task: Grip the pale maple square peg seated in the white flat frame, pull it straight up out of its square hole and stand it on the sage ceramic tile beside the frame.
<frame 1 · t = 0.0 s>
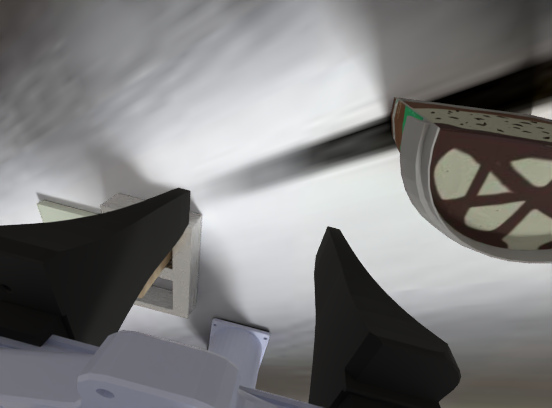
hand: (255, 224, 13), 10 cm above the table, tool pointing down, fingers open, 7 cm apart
white flat frame: (161, 254, 29), on the table
food container: (441, 147, 20), on the table
maple peg: (161, 230, 28), resting in white flat frame
ceramic tile: (85, 240, 30), on the table
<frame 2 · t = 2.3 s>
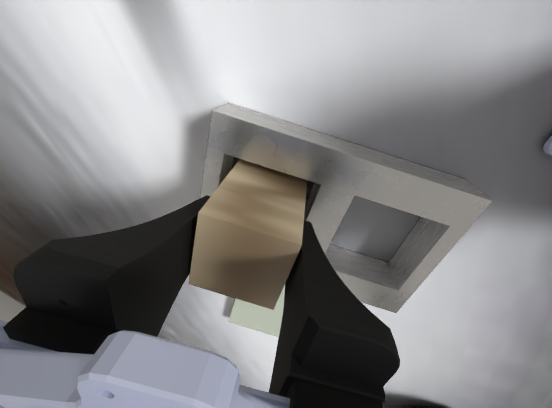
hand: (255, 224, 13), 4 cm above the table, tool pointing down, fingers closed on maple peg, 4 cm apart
white flat frame: (319, 206, 16), on the table
maple peg: (268, 190, 16), resting in white flat frame, touching gripper
ceramic tile: (290, 301, 21), on the table
when the fingers open (6 cm above the table, at t = 7.0 s): maple peg drops 1 cm, resting on ceramic tile.
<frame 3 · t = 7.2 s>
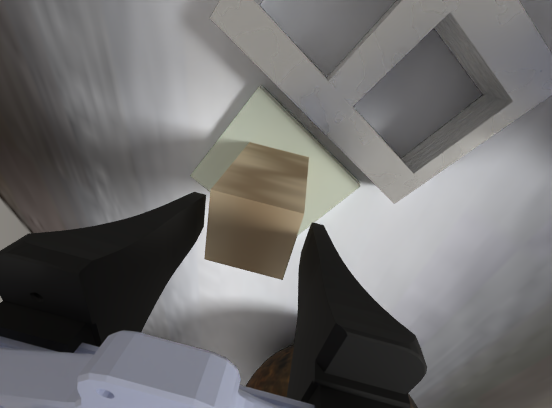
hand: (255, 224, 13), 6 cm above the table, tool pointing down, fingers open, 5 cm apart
white flat frame: (373, 51, 14), on the table
glass bottle: (325, 363, 29), on the table
maple peg: (273, 176, 17), point 1 cm above the table, touching ceramic tile
ceramic tile: (273, 176, 18), on the table
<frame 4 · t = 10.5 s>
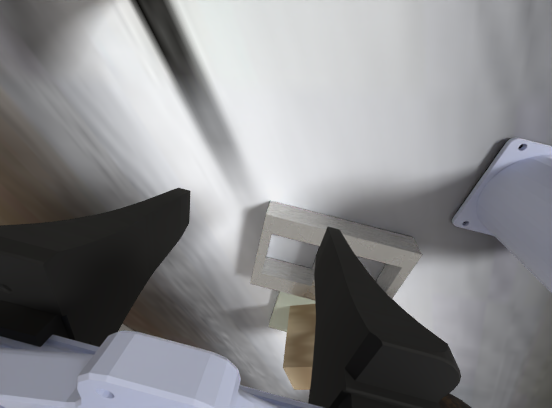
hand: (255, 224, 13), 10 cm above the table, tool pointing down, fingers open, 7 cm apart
white flat frame: (326, 253, 26), on the table
glass bottle: (414, 399, 38), on the table
maple peg: (310, 315, 30), point 1 cm above the table, touching ceramic tile
ceramic tile: (310, 311, 31), on the table
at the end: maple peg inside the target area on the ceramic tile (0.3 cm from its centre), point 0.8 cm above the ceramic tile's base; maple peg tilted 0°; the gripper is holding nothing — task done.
